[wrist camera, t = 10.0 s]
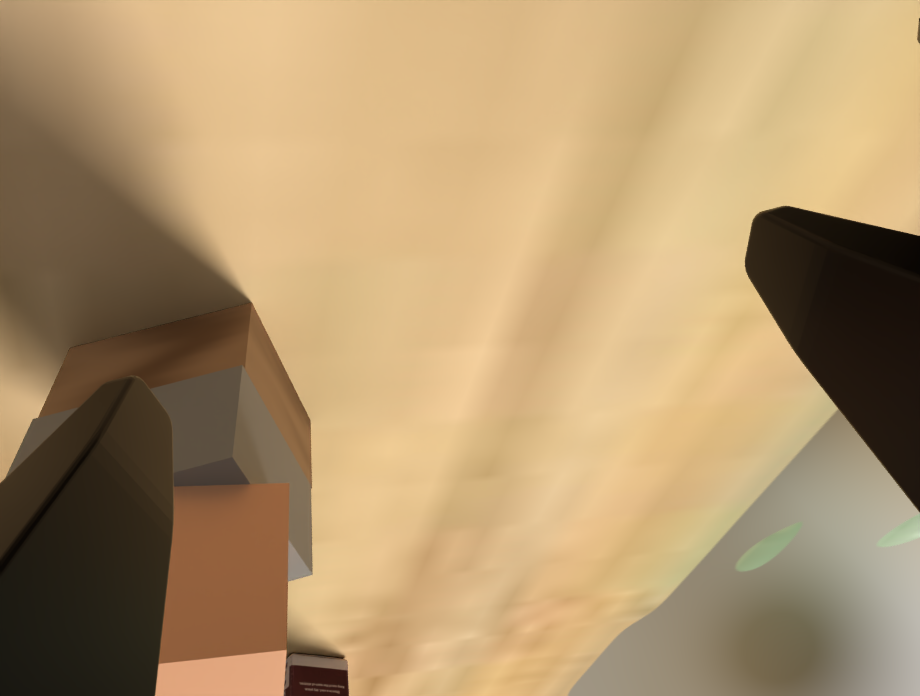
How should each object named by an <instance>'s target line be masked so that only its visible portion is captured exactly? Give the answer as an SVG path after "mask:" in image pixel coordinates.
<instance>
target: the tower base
mask: <svg viewBox="0 0 920 696" xmlns="http://www.w3.org/2000/svg"><path fill="white" fill-rule="evenodd" d="M240 365H243V367H244V368H245V370H246V372H247V374H248V376H249V377H250V379H251V381H252V383H253V384H254V386H255V388H256V390H257V391H258V393H259V395H260V397H261V398H262V400H263V402H264V404H265V406H266V407H267V409H268V411H269V413H270V414H271V416H272V418H273V420H274V421H275V423H276V425H277V427H278V428H279V430H280V432H281V434H282V435H283V437H284V439H285V441H286V442H287V444H288V446H289V448H290V450H291V451H292V453H293V455H294V457H295V458H296V460H297V462H298V464H299V465H300V467H301V469H302V471H303V472H304V474H305V476H306V478H307V480H308V481H309V483H310V485H311V488H312V471H311V422H310V419H309V417H308V415H307V413H306V411H305V409H304V407H303V405H302V403H301V401H300V399H299V397H298V395H297V393H296V391H295V389H294V387H293V384H292V382H291V380H290V378H289V376H288V374H287V372H286V370H285V368H284V366H283V364H282V362H281V360H280V358H279V356H278V354H277V352H276V350H275V348H274V346H273V344H272V342H271V340H270V338H269V336H268V334H267V332H266V330H265V328H264V326H263V324H262V322H261V320H260V318H259V316H258V314H257V312H256V310H255V308H254V306H253V304H252V303H248V304H244V305H240V306H236V307H232V308H228V309H224V310H220V311H216V312H212V313H208V314H204V315H200V316H196V317H192V318H188V319H184V320H180V321H176V322H172V323H168V324H164V325H160V326H156V327H152V328H148V329H144V330H140V331H136V332H132V333H128V334H124V335H120V336H116V337H112V338H108V339H104V340H100V341H96V342H92V343H88V344H84V345H80V346H76V347H72V348H70V349H69V351H68V354H67V356H66V358H65V360H64V362H63V364H62V367H61V369H60V371H59V373H58V375H57V377H56V380H55V382H54V384H53V386H52V388H51V391H50V393H49V395H48V397H47V399H46V401H45V404H44V406H43V408H42V410H41V412H40V415H39V417H38V418H40V417H43V416H47V415H51V414H55V413H59V412H63V411H67V410H70V409H74V408H78V407H80V406H81V405H82V404H83V403H84V402H85V401H86V400H87V399H88V398H89V397H90V396H91V395H92V394H93V393H94V392H95V391H96V390H97V389H98V388H99V387H100V386H101V385H102V384H104V383H106V382H108V381H111V380H115V379H119V378H123V377H127V376H130V375H134V376H138V377H140V378H141V379H142V380H143V381H144V382H145V383H146V384H147V386H148V387H149V388H150V389H151V388H155V387H159V386H163V385H167V384H171V383H175V382H178V381H182V380H186V379H190V378H194V377H198V376H202V375H205V374H209V373H213V372H217V371H221V370H225V369H229V368H232V367H236V366H240Z"/></svg>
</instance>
